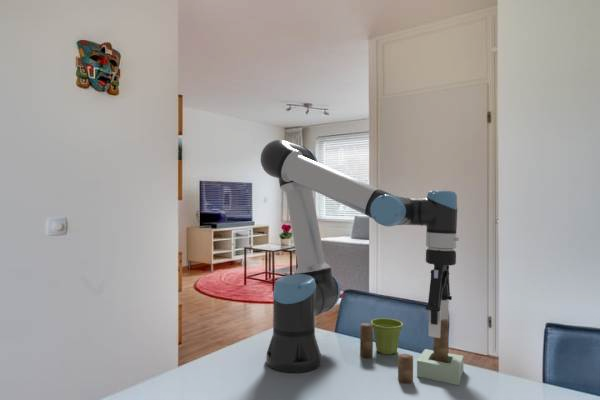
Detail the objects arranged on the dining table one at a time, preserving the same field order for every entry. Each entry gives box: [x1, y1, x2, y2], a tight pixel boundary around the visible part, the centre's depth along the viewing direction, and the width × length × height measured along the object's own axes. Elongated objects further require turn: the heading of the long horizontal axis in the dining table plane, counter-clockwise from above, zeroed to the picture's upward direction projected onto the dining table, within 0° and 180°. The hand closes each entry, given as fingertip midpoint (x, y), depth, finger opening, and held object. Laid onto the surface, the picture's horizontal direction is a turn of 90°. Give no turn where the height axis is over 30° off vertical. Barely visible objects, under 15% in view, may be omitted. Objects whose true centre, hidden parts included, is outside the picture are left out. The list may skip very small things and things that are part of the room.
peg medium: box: [359, 322, 374, 359], centre depth 113 cm, size 4×4×9 cm
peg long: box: [432, 318, 449, 363], centre depth 101 cm, size 4×4×14 cm
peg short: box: [397, 353, 414, 385], centre depth 97 cm, size 4×4×6 cm
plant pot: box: [370, 317, 404, 356], centre depth 117 cm, size 9×9×9 cm
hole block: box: [416, 348, 464, 386], centre depth 101 cm, size 10×10×4 cm
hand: (438, 329), depth 102 cm, fingers open, 13 cm apart
